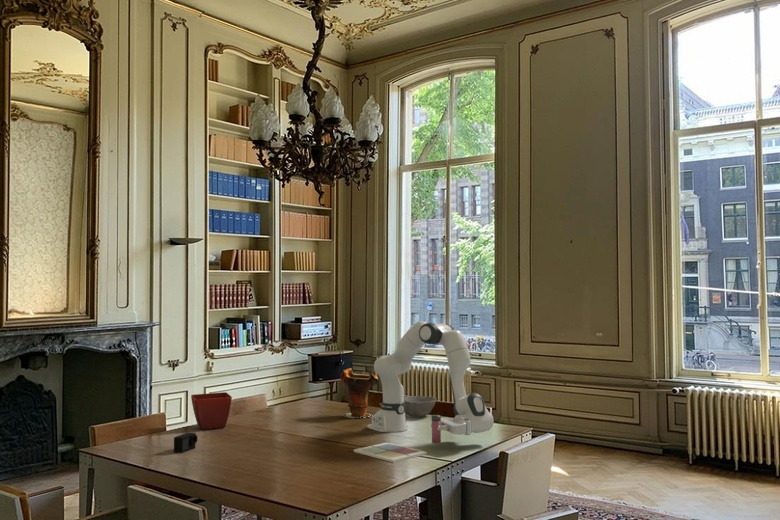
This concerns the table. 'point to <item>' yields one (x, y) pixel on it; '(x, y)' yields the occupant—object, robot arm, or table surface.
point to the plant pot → (211, 409)
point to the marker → (436, 433)
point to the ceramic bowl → (418, 405)
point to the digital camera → (184, 442)
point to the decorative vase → (358, 391)
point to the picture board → (390, 452)
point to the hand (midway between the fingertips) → (434, 426)
